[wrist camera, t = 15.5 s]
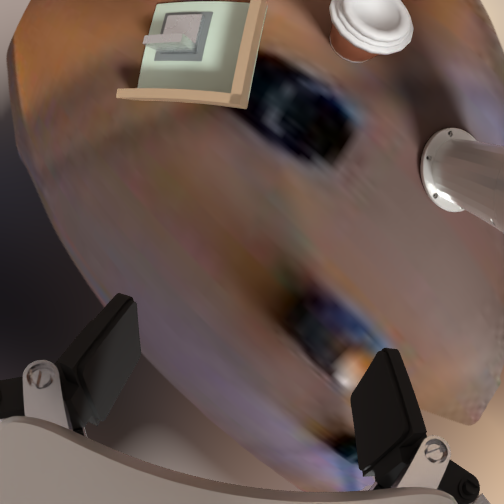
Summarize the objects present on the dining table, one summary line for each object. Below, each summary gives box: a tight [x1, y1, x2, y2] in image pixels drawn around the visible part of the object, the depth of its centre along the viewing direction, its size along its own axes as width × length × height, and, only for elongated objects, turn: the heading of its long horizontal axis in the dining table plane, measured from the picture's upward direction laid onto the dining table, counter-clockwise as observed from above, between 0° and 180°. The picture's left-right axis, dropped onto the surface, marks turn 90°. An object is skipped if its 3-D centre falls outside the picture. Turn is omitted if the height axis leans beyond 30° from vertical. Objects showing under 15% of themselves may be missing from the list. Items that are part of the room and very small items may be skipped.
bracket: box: [143, 14, 205, 54], centre depth 26 cm, size 6×5×6 cm
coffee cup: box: [329, 0, 414, 63], centre depth 22 cm, size 9×9×12 cm
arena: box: [116, 0, 267, 109], centre depth 28 cm, size 16×16×6 cm
